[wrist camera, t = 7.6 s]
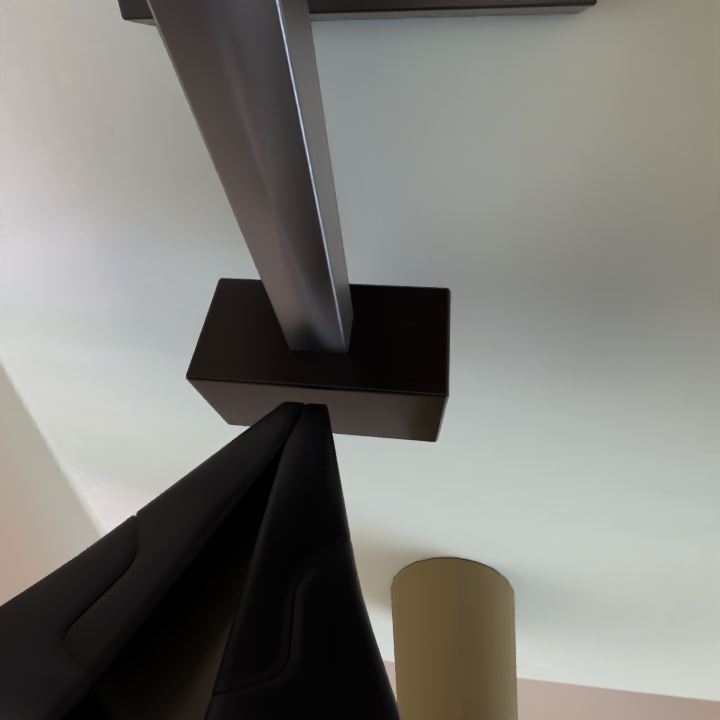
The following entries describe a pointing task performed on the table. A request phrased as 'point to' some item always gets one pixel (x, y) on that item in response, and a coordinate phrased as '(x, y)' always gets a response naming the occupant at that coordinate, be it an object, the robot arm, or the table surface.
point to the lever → (295, 240)
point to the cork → (454, 642)
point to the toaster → (400, 9)
